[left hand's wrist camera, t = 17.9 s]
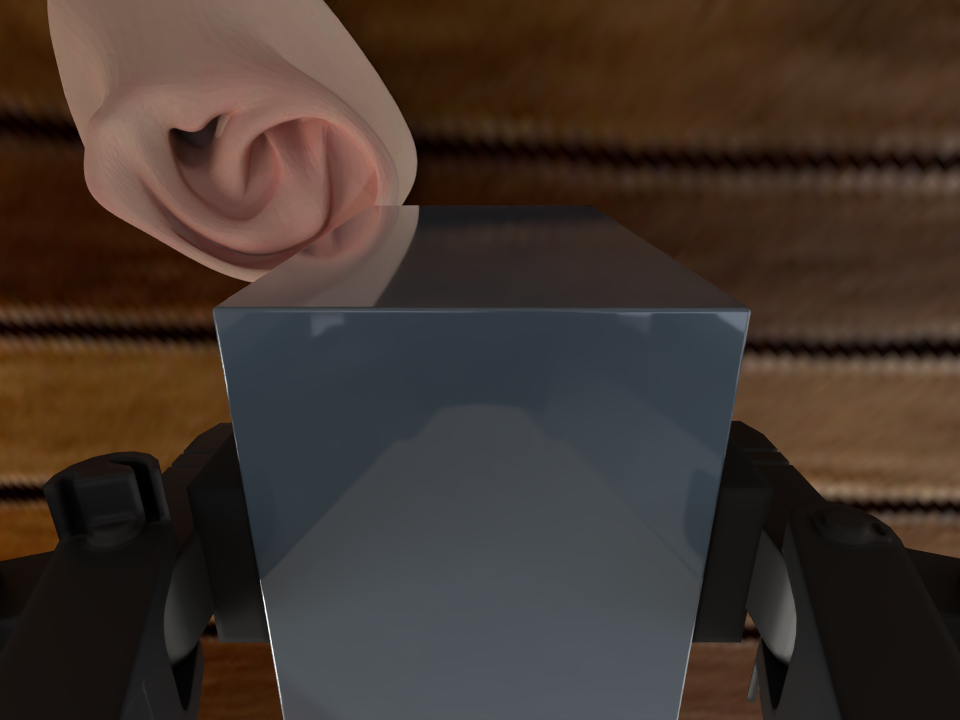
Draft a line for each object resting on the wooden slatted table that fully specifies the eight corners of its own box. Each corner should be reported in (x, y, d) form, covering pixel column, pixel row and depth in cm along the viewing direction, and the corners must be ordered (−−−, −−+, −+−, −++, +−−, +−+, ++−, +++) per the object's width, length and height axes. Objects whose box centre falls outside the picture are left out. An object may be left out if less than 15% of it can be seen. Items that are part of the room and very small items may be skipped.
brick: (385, 446, 19) (289, 760, 9) (369, 205, 16) (209, 308, 7) (576, 446, 19) (671, 760, 10) (593, 205, 16) (753, 308, 7)
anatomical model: (-112, -11, 17) (207, -238, 15) (-7, 16, 21) (259, -164, 19) (169, 362, 21) (444, 218, 20) (214, 329, 25) (448, 205, 23)
